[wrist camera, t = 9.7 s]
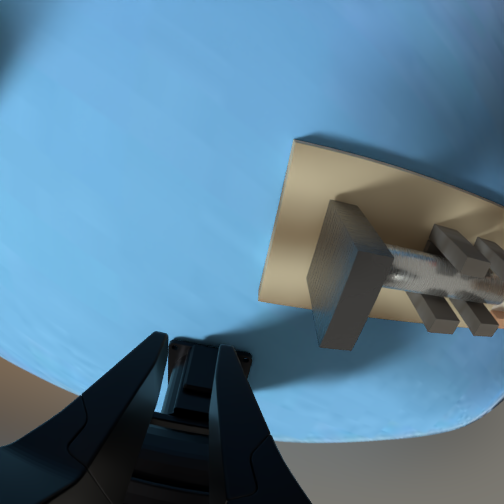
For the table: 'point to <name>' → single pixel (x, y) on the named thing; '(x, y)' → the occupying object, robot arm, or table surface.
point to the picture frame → (498, 314)
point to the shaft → (376, 276)
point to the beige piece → (384, 233)
